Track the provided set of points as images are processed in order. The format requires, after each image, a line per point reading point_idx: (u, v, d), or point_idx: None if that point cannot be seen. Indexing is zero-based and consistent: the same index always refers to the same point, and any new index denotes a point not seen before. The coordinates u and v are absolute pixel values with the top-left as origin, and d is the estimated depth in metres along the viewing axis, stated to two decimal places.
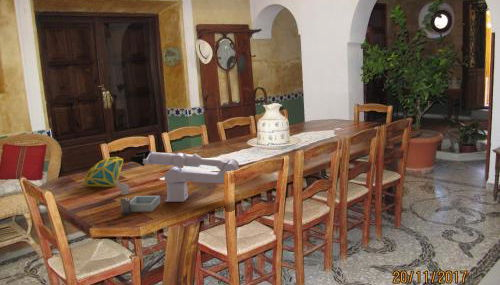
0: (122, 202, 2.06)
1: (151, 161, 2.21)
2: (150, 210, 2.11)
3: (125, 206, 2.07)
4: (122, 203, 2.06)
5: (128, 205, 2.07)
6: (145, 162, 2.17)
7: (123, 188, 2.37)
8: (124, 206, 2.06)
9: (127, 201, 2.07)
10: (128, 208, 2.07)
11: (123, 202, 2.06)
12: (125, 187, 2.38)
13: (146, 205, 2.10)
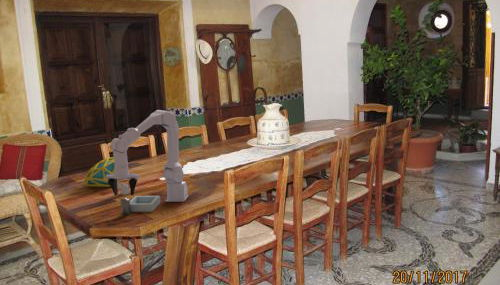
0: (122, 202, 2.06)
1: (128, 172, 2.06)
2: (150, 210, 2.11)
3: (125, 206, 2.07)
4: (122, 203, 2.06)
5: (128, 205, 2.07)
6: (138, 176, 2.05)
7: (123, 188, 2.37)
8: (124, 206, 2.06)
9: (127, 201, 2.07)
10: (128, 208, 2.07)
11: (123, 202, 2.06)
12: (125, 187, 2.38)
13: (146, 205, 2.10)
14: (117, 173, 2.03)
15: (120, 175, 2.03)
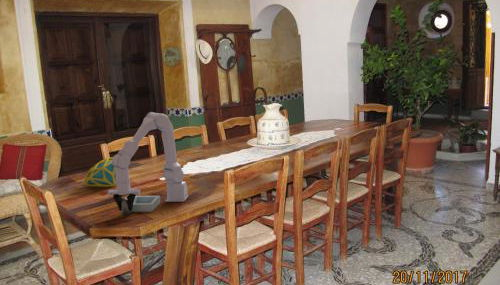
0: (122, 202, 2.06)
1: None
2: (150, 210, 2.11)
3: (125, 206, 2.06)
4: (122, 203, 2.06)
5: (128, 205, 2.07)
6: (140, 191, 2.07)
7: None
8: (124, 206, 2.06)
9: (127, 201, 2.07)
10: (128, 208, 2.07)
11: (123, 202, 2.06)
12: None
13: (146, 205, 2.10)
14: (119, 189, 2.04)
15: (122, 191, 2.04)
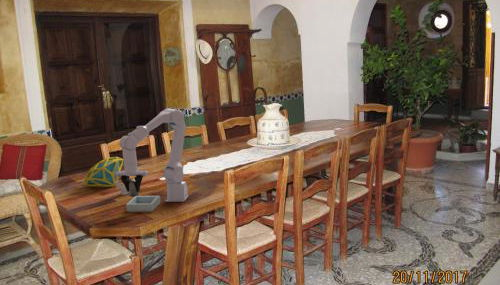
0: (129, 183, 2.09)
1: (137, 169, 2.10)
2: (150, 210, 2.11)
3: (132, 187, 2.09)
4: (129, 184, 2.09)
5: (135, 186, 2.10)
6: (147, 172, 2.09)
7: (123, 188, 2.37)
8: (131, 187, 2.09)
9: (134, 182, 2.09)
10: (135, 189, 2.10)
11: (130, 183, 2.09)
12: (125, 187, 2.38)
13: (146, 205, 2.10)
14: (126, 170, 2.07)
15: (129, 172, 2.07)
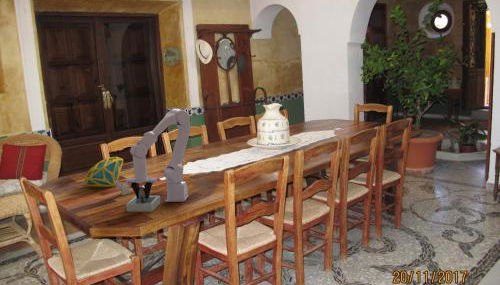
0: (139, 190, 2.14)
1: None
2: (150, 210, 2.11)
3: (142, 194, 2.14)
4: (139, 191, 2.14)
5: (145, 193, 2.15)
6: (156, 180, 2.14)
7: (123, 188, 2.37)
8: (141, 194, 2.14)
9: (144, 189, 2.14)
10: (145, 196, 2.15)
11: (140, 190, 2.14)
12: (125, 187, 2.38)
13: (146, 205, 2.10)
14: (136, 177, 2.12)
15: (139, 179, 2.12)
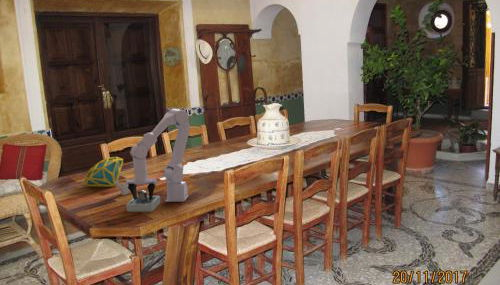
0: (139, 194, 2.14)
1: (147, 178, 2.15)
2: (150, 210, 2.11)
3: (142, 198, 2.14)
4: (140, 195, 2.14)
5: (145, 197, 2.15)
6: (156, 181, 2.14)
7: (123, 188, 2.37)
8: (141, 198, 2.14)
9: (144, 193, 2.15)
10: (145, 200, 2.15)
11: (141, 194, 2.14)
12: (125, 187, 2.38)
13: (146, 205, 2.10)
14: (137, 178, 2.12)
15: (139, 180, 2.12)
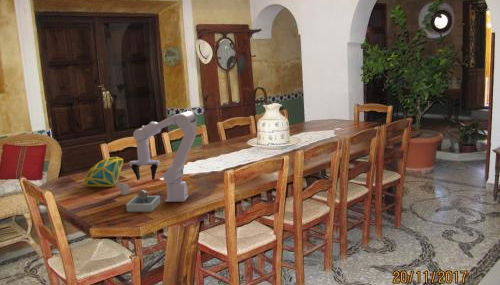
0: (140, 194, 2.14)
1: None
2: (150, 210, 2.11)
3: (143, 198, 2.14)
4: (140, 195, 2.14)
5: (145, 197, 2.15)
6: None
7: (123, 188, 2.37)
8: (142, 198, 2.14)
9: (145, 193, 2.15)
10: (145, 200, 2.15)
11: (141, 194, 2.14)
12: (125, 187, 2.38)
13: (146, 205, 2.10)
14: (140, 159, 2.25)
15: (142, 161, 2.25)
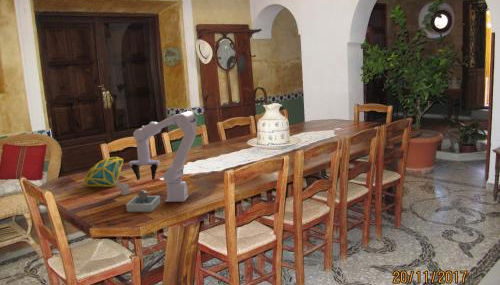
0: (140, 194, 2.14)
1: None
2: (150, 210, 2.11)
3: (142, 198, 2.14)
4: (140, 195, 2.14)
5: (145, 197, 2.15)
6: None
7: (123, 188, 2.37)
8: (142, 198, 2.14)
9: (145, 193, 2.15)
10: (145, 200, 2.15)
11: (141, 194, 2.14)
12: (125, 187, 2.38)
13: (146, 205, 2.10)
14: (140, 159, 2.25)
15: (142, 161, 2.25)
